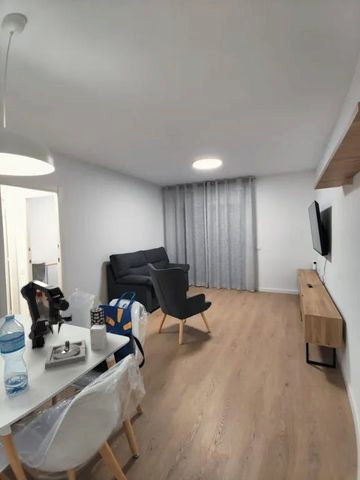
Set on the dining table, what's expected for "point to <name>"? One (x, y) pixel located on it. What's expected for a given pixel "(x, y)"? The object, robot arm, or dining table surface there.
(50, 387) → the dining table surface
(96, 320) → the spotted tube
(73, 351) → the dial
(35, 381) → the dining table surface
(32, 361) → the dining table surface
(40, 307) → the liquor
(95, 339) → the small box
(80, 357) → the grey square tray
